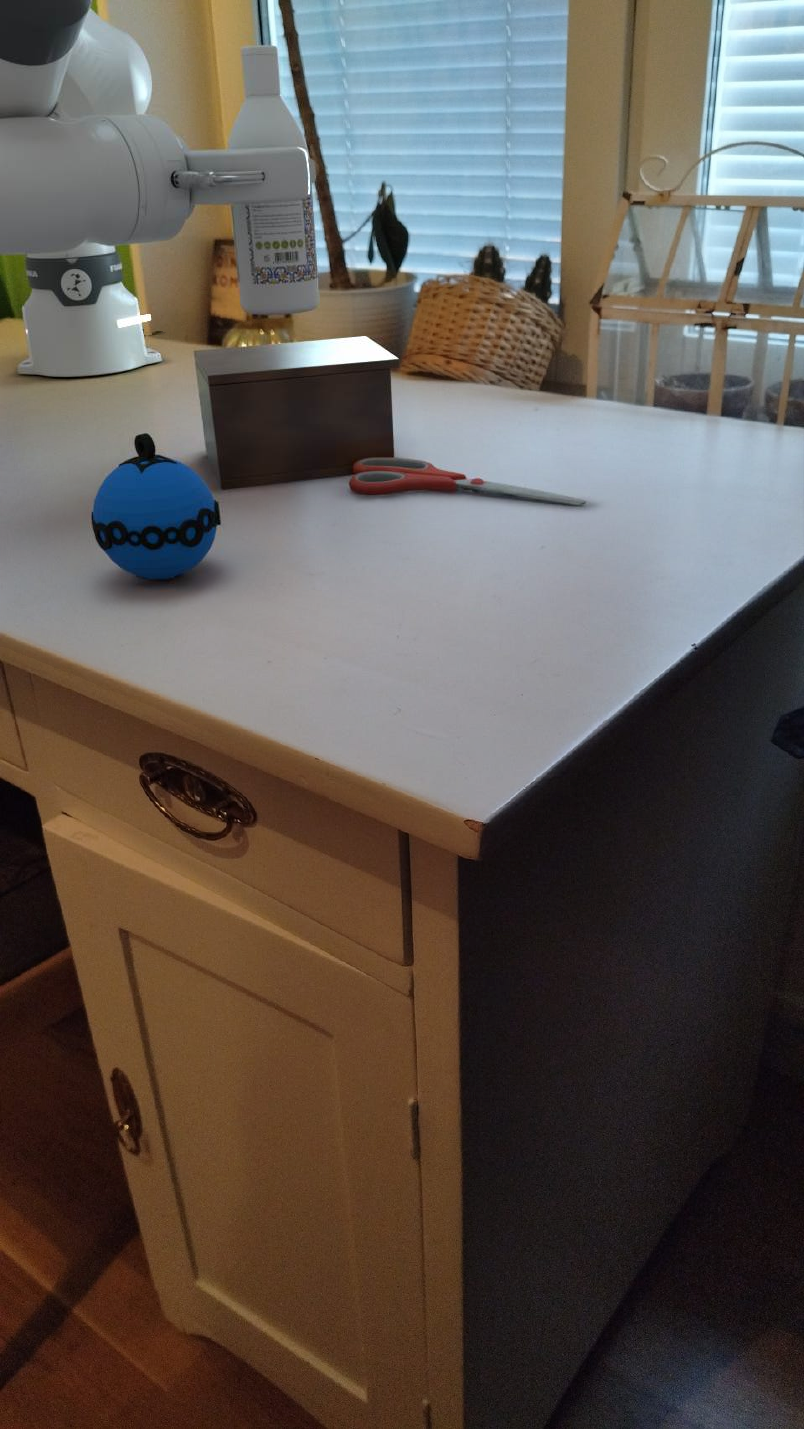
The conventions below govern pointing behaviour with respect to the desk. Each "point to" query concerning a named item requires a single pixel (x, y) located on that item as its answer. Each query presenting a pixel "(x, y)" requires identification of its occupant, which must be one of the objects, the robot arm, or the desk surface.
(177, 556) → the ornament
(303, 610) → the desk surface
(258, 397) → the chest
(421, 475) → the scissors
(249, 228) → the bath foam
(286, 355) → the lid
